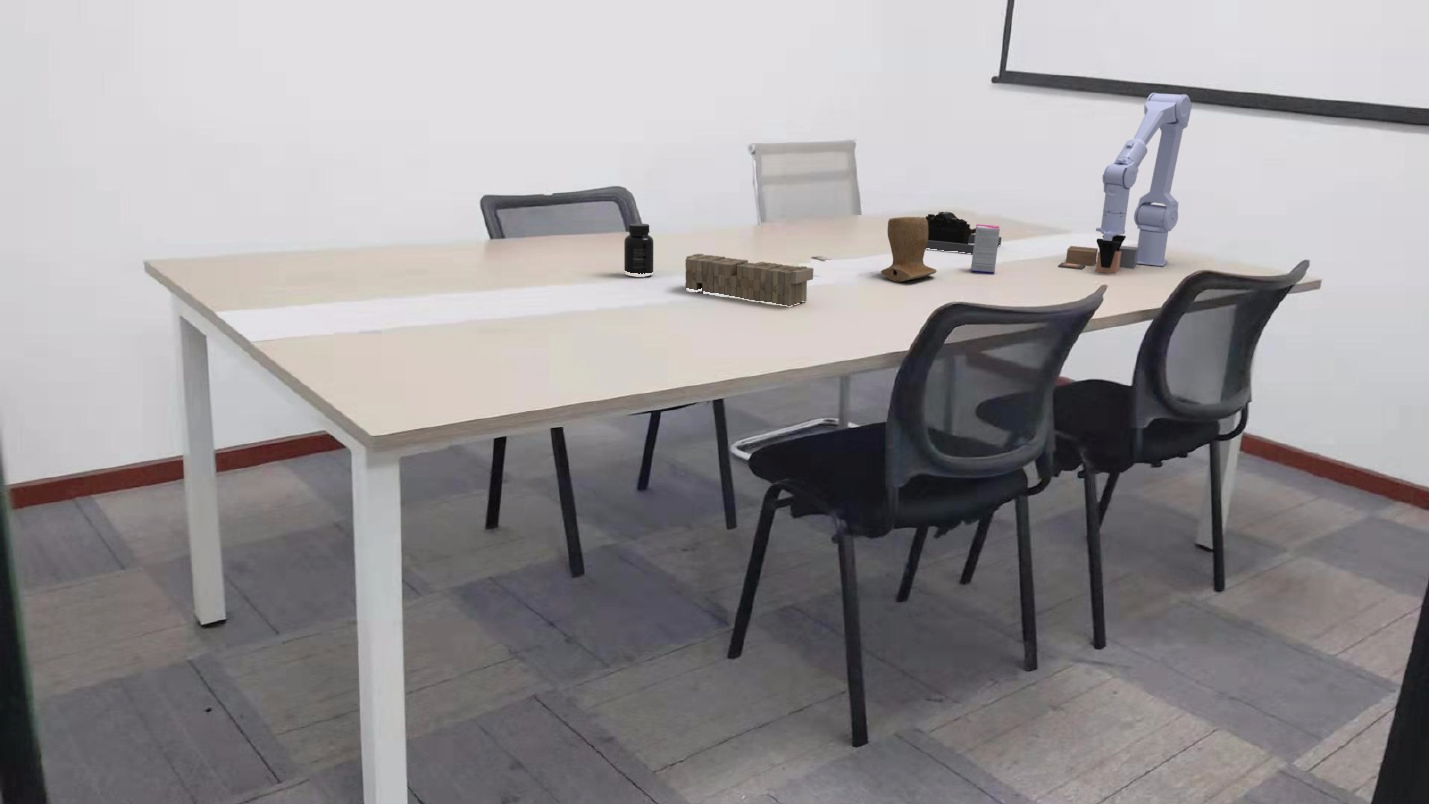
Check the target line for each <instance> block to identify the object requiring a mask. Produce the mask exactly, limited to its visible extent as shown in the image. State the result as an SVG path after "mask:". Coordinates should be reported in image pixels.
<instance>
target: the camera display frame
mask: <svg viewBox="0 0 1429 804" xmlns="http://www.w3.org/2000/svg"><path fill="white" fill-rule="evenodd" d="M974 241H975V234H971V235H970V236H969V241H968V242H969V243H968V244H961V243H951V242H941V241H931V240H928V242H927V246H926V248H930V249H937V250H944V251H958V252H965V253H971V254H970V255H972V254H973V249H974V244H972V243H974ZM999 245H1001V246H1002V236H999V239H998V246H999ZM999 247H1000V246H999ZM944 251H943V252H944Z"/></svg>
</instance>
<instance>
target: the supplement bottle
mask: <svg viewBox="0 0 1429 804" xmlns="http://www.w3.org/2000/svg"><path fill="white" fill-rule="evenodd" d="M627 232H628V235H627V236H626V237H625V238H624V241H623V242H624V243H623V244H624V245H623V246H624V249H623V250H624V252H623V253H624V255H623V256H624V257H623V258H624V259H623V260H624V263H623V267H624V270H625V271H627V272H630V273H638V274H640V273H641V274H643V273H644V274H645V273H652V272H653V273H654V239H653V237H652V236H651V235H649V234H650V224H648V223H634V222H633V223H630V224H628V230H627ZM624 270H623V271H624Z"/></svg>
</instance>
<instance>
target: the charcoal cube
mask: <svg viewBox="0 0 1429 804" xmlns="http://www.w3.org/2000/svg"><path fill="white" fill-rule="evenodd" d="M1138 250H1139V247H1137V246H1136V247H1135V246H1126V245H1121V247H1120V249H1119V251H1121V258H1120V265H1119V268H1122V269H1123V268H1124V269H1132V270H1133V269H1135V268H1136V267H1137V265H1138V264H1137V257H1138Z"/></svg>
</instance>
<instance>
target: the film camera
mask: <svg viewBox="0 0 1429 804" xmlns="http://www.w3.org/2000/svg"><path fill="white" fill-rule="evenodd" d="M925 218H926V219H927V222H928V240H931V241H941V242H951V243H961V244H969V243H968V241H969V236H970V235H971V234H975V233H976V227H975V228H971V227H970V226H971V224H970V223H968V221H967V220H965V219H963V218H958V217H957V216H956V215H955V214H954V213H953V212H950V211H939V212H938V214H933V213H928V214H927V216H925Z"/></svg>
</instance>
